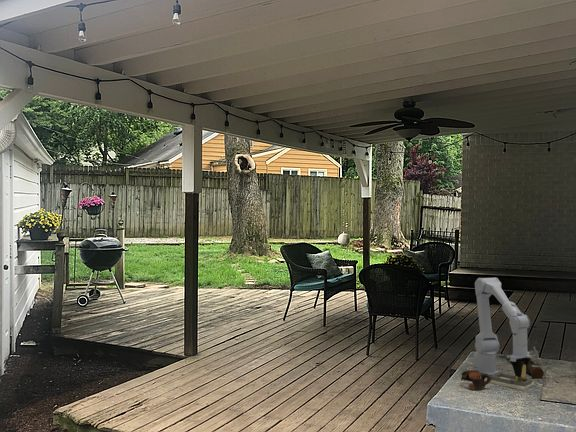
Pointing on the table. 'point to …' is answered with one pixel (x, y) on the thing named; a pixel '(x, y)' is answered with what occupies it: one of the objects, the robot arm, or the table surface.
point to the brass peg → (523, 376)
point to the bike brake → (533, 357)
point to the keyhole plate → (510, 381)
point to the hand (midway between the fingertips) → (520, 375)
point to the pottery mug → (476, 379)
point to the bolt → (535, 371)
